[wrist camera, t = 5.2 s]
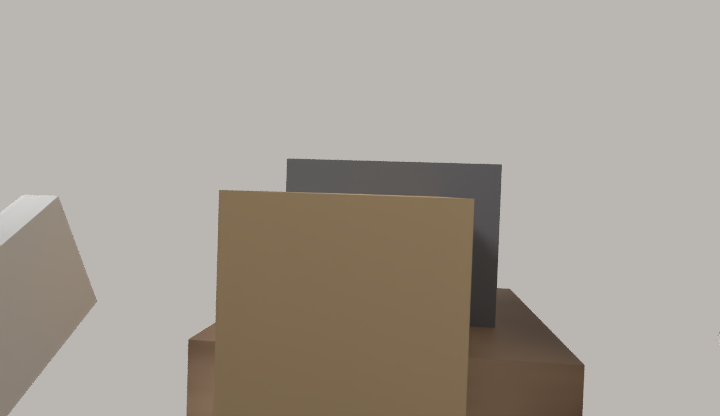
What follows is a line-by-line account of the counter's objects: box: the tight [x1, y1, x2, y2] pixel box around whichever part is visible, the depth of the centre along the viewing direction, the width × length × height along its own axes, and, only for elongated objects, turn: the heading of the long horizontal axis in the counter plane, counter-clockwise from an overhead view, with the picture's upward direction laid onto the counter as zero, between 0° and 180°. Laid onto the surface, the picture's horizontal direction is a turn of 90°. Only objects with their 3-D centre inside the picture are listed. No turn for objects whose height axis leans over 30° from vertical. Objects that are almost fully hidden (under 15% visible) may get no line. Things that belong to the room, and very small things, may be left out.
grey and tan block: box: [213, 159, 502, 416], centre depth 18 cm, size 8×21×6 cm, turn 174°
